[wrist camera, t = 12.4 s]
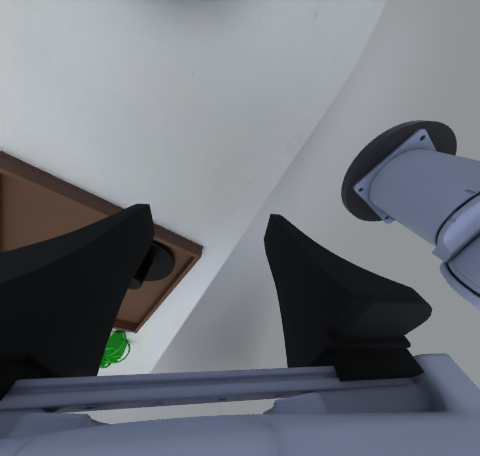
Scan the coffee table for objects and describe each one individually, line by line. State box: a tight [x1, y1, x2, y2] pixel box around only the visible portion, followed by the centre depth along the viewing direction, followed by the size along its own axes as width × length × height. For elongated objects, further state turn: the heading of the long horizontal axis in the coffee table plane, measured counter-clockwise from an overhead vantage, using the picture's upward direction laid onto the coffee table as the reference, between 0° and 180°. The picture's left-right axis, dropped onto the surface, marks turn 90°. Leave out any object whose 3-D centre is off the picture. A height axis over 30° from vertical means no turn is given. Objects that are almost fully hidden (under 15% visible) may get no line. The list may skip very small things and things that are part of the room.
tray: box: [0, 151, 203, 333], centre depth 24 cm, size 21×25×2 cm
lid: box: [128, 241, 175, 290], centre depth 22 cm, size 8×8×4 cm
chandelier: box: [100, 331, 130, 368], centre depth 34 cm, size 15×15×7 cm
